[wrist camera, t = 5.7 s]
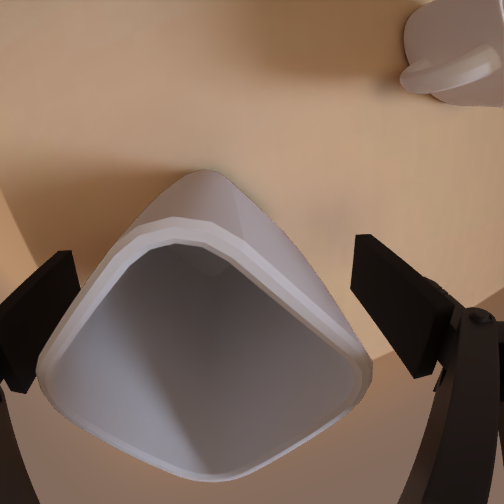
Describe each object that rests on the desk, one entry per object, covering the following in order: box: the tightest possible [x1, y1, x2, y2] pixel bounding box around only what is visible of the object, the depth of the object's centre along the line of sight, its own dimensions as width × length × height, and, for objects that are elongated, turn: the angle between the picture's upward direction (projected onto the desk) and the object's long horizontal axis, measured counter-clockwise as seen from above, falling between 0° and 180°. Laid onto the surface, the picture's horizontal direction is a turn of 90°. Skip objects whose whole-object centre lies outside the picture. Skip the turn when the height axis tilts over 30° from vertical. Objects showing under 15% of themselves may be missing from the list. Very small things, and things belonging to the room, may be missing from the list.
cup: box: [36, 170, 373, 482], centre depth 14 cm, size 7×7×15 cm
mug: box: [400, 0, 504, 108], centre depth 13 cm, size 12×8×10 cm
